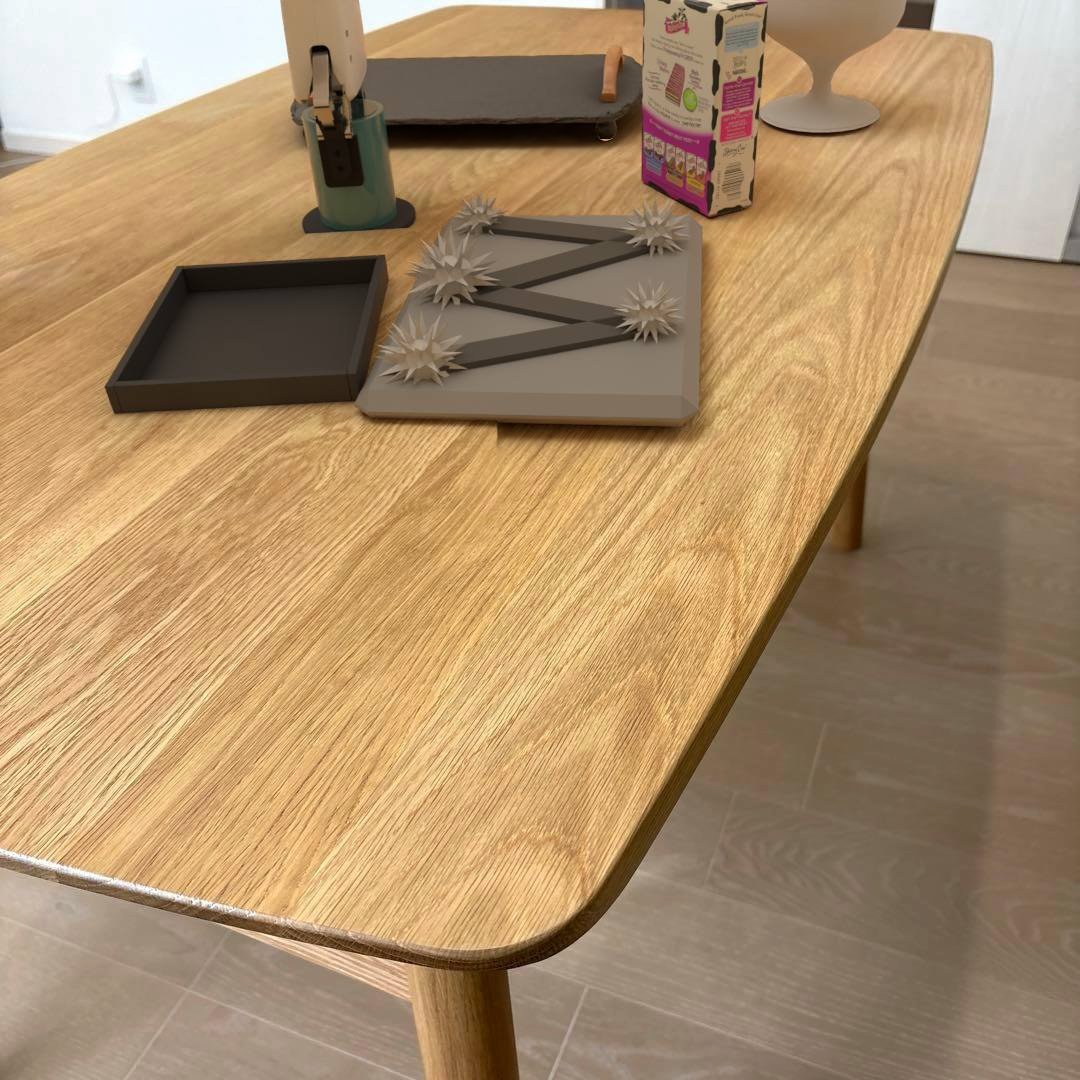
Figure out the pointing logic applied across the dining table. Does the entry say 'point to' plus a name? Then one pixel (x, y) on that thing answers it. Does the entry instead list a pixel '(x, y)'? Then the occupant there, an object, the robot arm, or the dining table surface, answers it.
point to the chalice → (826, 58)
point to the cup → (377, 192)
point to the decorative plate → (548, 322)
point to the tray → (254, 336)
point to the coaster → (401, 220)
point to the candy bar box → (702, 100)
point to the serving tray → (503, 89)
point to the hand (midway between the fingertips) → (351, 167)
